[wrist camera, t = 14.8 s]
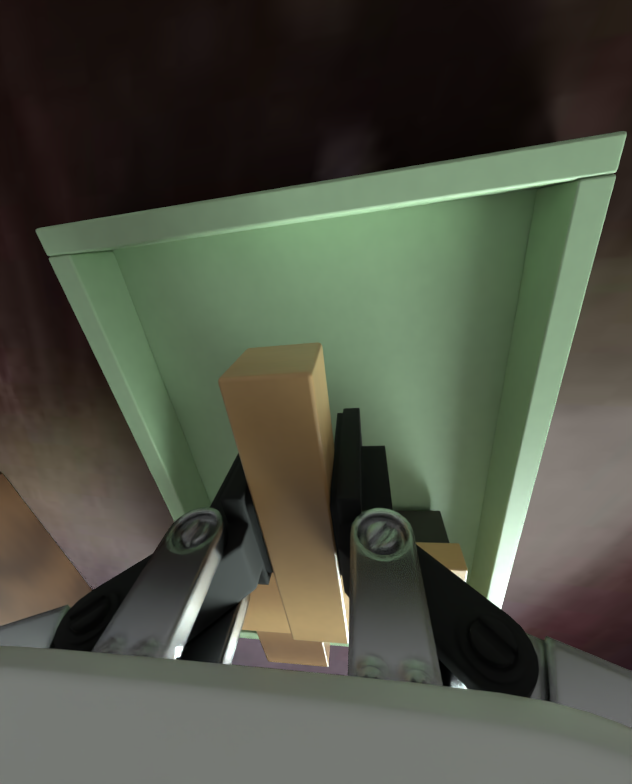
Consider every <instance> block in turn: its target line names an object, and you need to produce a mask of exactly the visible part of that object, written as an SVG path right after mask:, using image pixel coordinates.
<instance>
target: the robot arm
mask: <svg viewBox="0 0 632 784" xmlns="http://www.w3.org/2000/svg"><path fill="white" fill-rule="evenodd" d="M334 449H335V451H334V461H333V470H332V480H331V490H330V513H331V519H332V525H333V532H334V538H335V545H336V551H337V558H338V564H339V570H340V575H341V576H342V578H343V585H344V592H345V594H346V595H347V596H348V597H349V651H348V676H343V675H333V674H323V673H313V672H303V671H293V670H283V669H272V668H261V667H251V666H240V665H231V663H232V660H233V656H234V653H235V649H236V646H237V643H238V639H239V636H240V632H241V629H242V626H243V622H244V619H245V616H246V612H247V609H248V605H249V601H250V593H251V592H252V591H254V590H255V589H256V588H257V585H258V584H259V585H269V582H270V578H271V574H272V573H273V569H272V566H271V563H270V559H269V556H268V552H267V549H266V545H265V542H264V539H263V535H262V532H261V528H260V525H259V521H258V518H257V514H256V511H255V508H254V504H253V501H252V497H251V494H250V490H249V487H248V484H247V480H246V477H245V473H244V470H243V466H242V463H241V459H240V456H239V453H238V454H237V456H236V458H235V460H234V462H233V464H232V466H231V468H230V470H229V472H228V473H227V475H226V477H225V479H224V481H223V483H222V485H221V487H220V489H219V490H218V492H217V494H216V496H215V498H214V500H213V502H212V504H211V506H210V507H201V508H196V509H194V510H191V511H189V512H187V513H185V514H183V515H182V516H181V517H179V518H178V519H177V520H176V521H175V522H174V523H173V524H172V525H171V527H170V528H169V529H168V531H167V532H166V534H165V536H164V537H163V539H162V540H161V542H160V543H159V545H158V547H157V548H156V550H155V551H154V553H153V554H152V555H150V556H148V557H147V558H145V559H143V560H142V561H140V562H138V563H137V564H135V565H133V566H132V567H130V568H129V569H127V570H125V571H124V572H122V573H120V574H119V575H117V576H115V577H114V578H112V579H110V580H109V581H107V582H105V583H104V584H102V585H101V586H99V587H97V588H96V589H94V590H92V591H91V592H89V593H88V594H86V595H85V596H84V597H82V598H81V599H79V600H78V601H77V602H76V603H75V604H74V605H73V606H72V607H70V606H69V605H65V606H61V607H58V608H55V609H52V610H49V611H46V612H43V613H39V614H36V615H33V616H30V617H27V618H24V619H21V620H17V621H14V622H11V623H8V624H5V625H2V626H0V784H632V671H630V670H627V669H625V668H622V667H620V666H618V665H615V664H613V663H610V662H608V661H605V660H603V659H601V658H598V657H596V656H593V655H591V654H588V653H586V652H584V651H581V650H579V649H576V648H574V647H571V646H569V645H567V644H564V643H562V642H559V641H557V640H554V639H552V638H550V637H547V636H546V637H545V640H541V639H539V638H537V637H534V636H532V635H530V634H527V633H525V631H524V630H523V629H522V627H521V626H520V625H519V624H518V623H516V622H515V621H514V620H513V619H512V618H511V617H510V616H509V615H508V614H506V613H505V612H504V611H502V610H501V609H500V608H499V607H497V606H496V605H495V604H493V603H492V602H491V601H489V600H488V599H487V598H486V597H484V596H483V595H482V594H480V593H479V592H478V591H476V590H475V589H474V588H473V587H471V586H470V585H469V584H467V583H466V582H465V581H463V580H462V579H461V578H460V577H458V576H457V575H456V574H454V573H453V572H452V571H450V570H449V569H448V568H447V567H445V566H444V565H443V564H441V563H440V562H439V561H437V560H436V559H435V558H434V557H432V556H431V555H430V554H428V553H427V552H426V551H424V550H423V549H422V548H421V547H419V546H418V545H417V544H416V542H415V536H414V532H413V529H412V527H411V524H410V523H409V522H408V521H407V519H406V518H405V517H403V516H402V515H401V514H399V513H398V512H395V511H393V507H392V498H391V490H390V482H389V474H388V466H387V458H386V450H385V445H384V446H362V433H361V419H360V408H344V409H343V413H337V421H336V430H335V439H334Z"/></svg>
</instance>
